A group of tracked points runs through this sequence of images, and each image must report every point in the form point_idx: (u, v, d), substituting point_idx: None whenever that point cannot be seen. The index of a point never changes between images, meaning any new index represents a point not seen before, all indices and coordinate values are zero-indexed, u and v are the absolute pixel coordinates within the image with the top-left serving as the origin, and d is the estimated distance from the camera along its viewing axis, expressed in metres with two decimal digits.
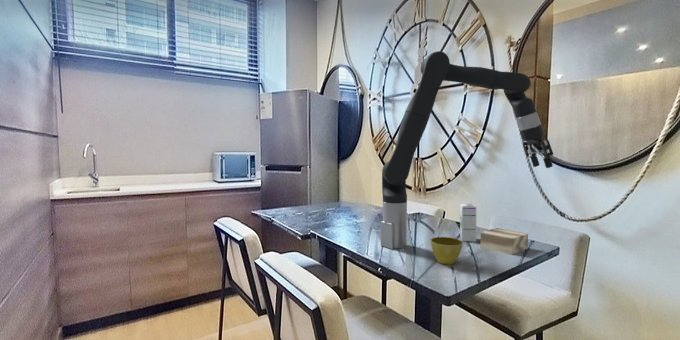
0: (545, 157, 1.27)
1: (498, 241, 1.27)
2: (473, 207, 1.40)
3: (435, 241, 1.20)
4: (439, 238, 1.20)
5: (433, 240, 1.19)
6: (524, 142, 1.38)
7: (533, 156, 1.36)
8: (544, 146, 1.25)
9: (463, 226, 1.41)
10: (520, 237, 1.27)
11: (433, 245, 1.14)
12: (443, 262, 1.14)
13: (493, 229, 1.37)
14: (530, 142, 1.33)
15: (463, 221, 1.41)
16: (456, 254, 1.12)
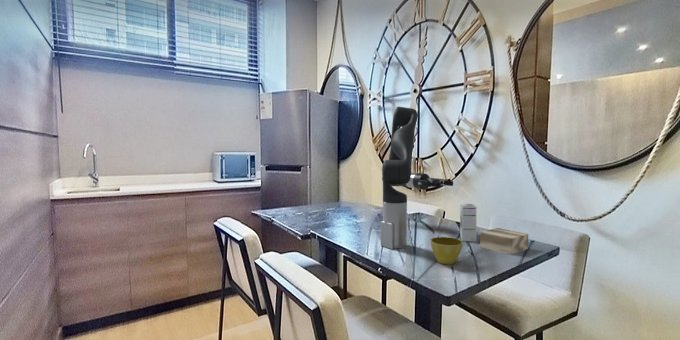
0: None
1: (498, 241, 1.27)
2: (473, 207, 1.40)
3: (435, 241, 1.20)
4: (439, 238, 1.20)
5: (433, 240, 1.19)
6: None
7: None
8: None
9: (463, 226, 1.41)
10: (520, 237, 1.27)
11: (433, 245, 1.14)
12: (443, 262, 1.14)
13: (494, 229, 1.37)
14: (426, 179, 1.58)
15: (463, 221, 1.41)
16: (456, 254, 1.12)
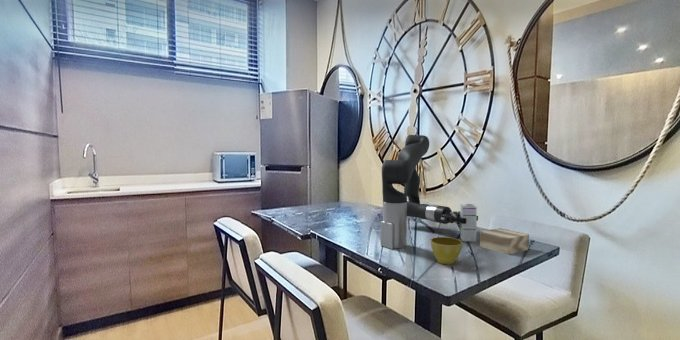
0: None
1: (496, 241, 1.28)
2: (473, 207, 1.40)
3: (435, 241, 1.20)
4: (439, 238, 1.20)
5: (433, 240, 1.19)
6: None
7: None
8: None
9: (463, 226, 1.41)
10: (519, 237, 1.27)
11: (433, 245, 1.14)
12: (443, 262, 1.14)
13: (495, 229, 1.38)
14: (448, 213, 1.49)
15: None
16: (456, 254, 1.12)
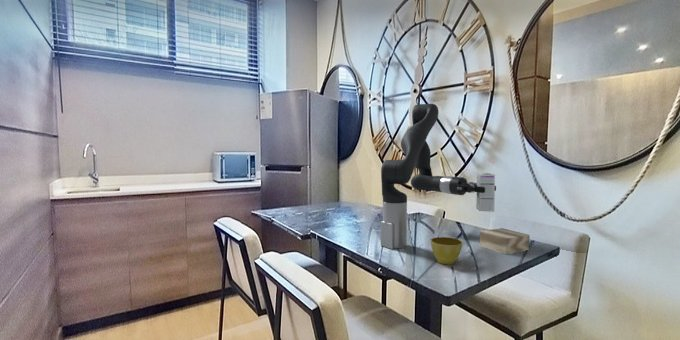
0: None
1: (495, 240, 1.28)
2: (491, 175, 1.34)
3: (435, 241, 1.20)
4: (439, 238, 1.20)
5: (433, 240, 1.19)
6: None
7: None
8: None
9: (480, 195, 1.35)
10: (518, 237, 1.26)
11: (433, 245, 1.14)
12: (443, 262, 1.14)
13: (496, 229, 1.38)
14: (465, 184, 1.43)
15: None
16: (456, 254, 1.12)
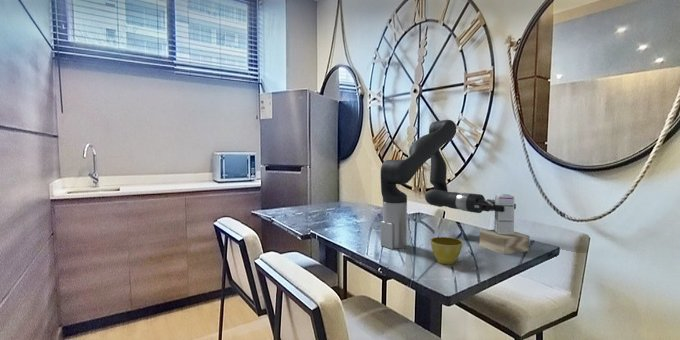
0: None
1: (493, 240, 1.29)
2: (511, 197, 1.28)
3: (435, 241, 1.20)
4: (439, 238, 1.20)
5: (433, 240, 1.19)
6: None
7: None
8: None
9: (499, 218, 1.29)
10: (517, 238, 1.26)
11: (433, 245, 1.14)
12: (443, 262, 1.14)
13: None
14: (482, 201, 1.37)
15: (499, 212, 1.29)
16: (456, 254, 1.12)
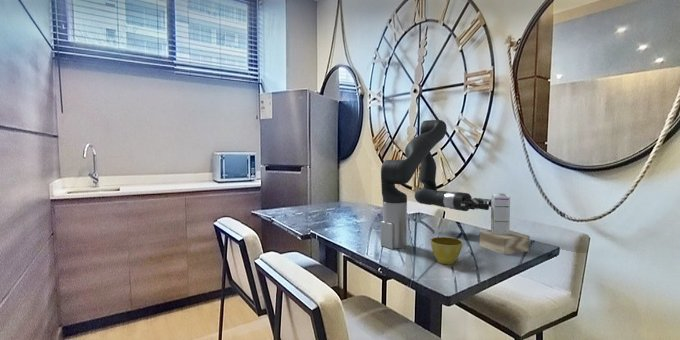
0: None
1: (493, 241, 1.28)
2: (506, 198, 1.27)
3: (435, 241, 1.20)
4: (439, 238, 1.20)
5: (433, 240, 1.19)
6: None
7: None
8: None
9: (495, 218, 1.29)
10: (517, 238, 1.26)
11: (433, 245, 1.14)
12: (443, 262, 1.14)
13: None
14: (469, 200, 1.41)
15: (495, 213, 1.29)
16: (456, 254, 1.12)
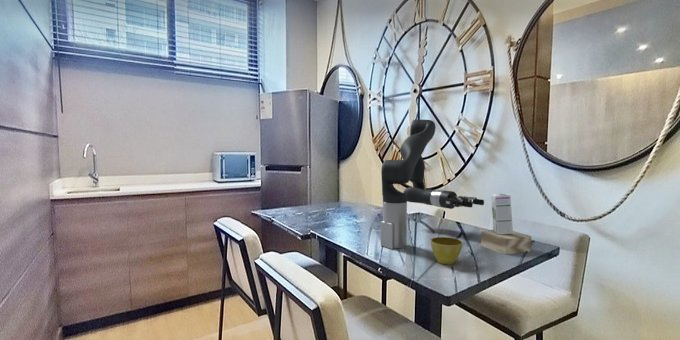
0: (475, 199, 1.46)
1: (495, 241, 1.28)
2: (507, 196, 1.28)
3: (435, 241, 1.20)
4: (439, 238, 1.20)
5: (433, 240, 1.19)
6: None
7: None
8: None
9: (497, 218, 1.29)
10: (519, 238, 1.26)
11: (433, 245, 1.14)
12: (443, 262, 1.14)
13: None
14: (454, 198, 1.47)
15: (497, 212, 1.29)
16: (456, 254, 1.12)
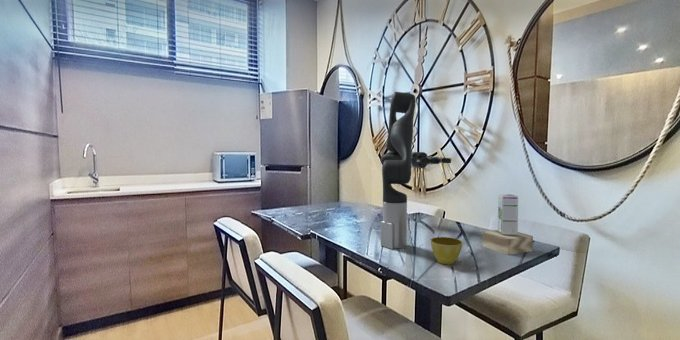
0: None
1: (497, 241, 1.28)
2: (514, 197, 1.28)
3: (435, 241, 1.20)
4: (439, 238, 1.20)
5: (433, 240, 1.19)
6: None
7: None
8: None
9: (503, 217, 1.28)
10: (520, 238, 1.25)
11: (433, 245, 1.14)
12: (443, 262, 1.14)
13: None
14: (424, 158, 1.60)
15: (503, 212, 1.28)
16: (456, 254, 1.12)
